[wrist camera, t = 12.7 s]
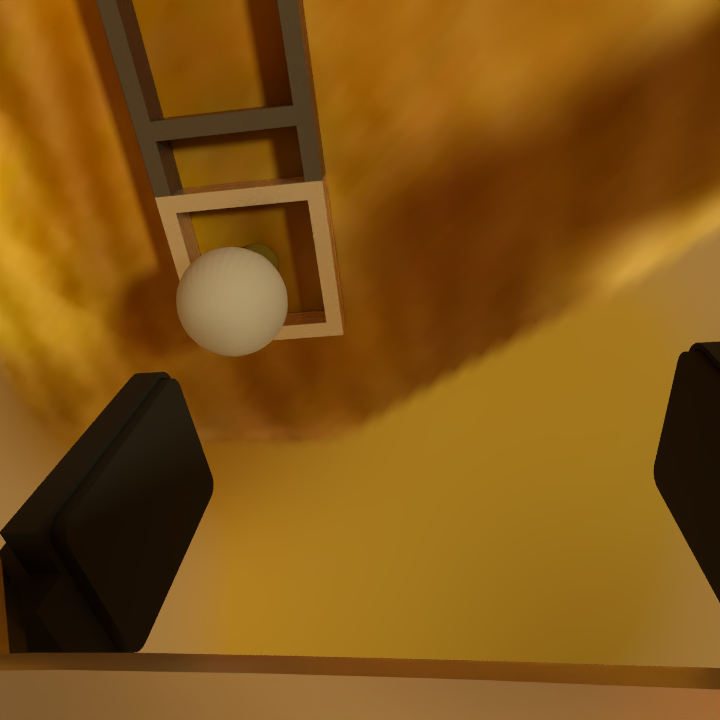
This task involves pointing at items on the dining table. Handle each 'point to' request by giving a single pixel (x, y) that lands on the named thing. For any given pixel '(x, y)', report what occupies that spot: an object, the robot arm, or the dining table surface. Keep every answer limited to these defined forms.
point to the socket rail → (159, 132)
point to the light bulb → (233, 299)
